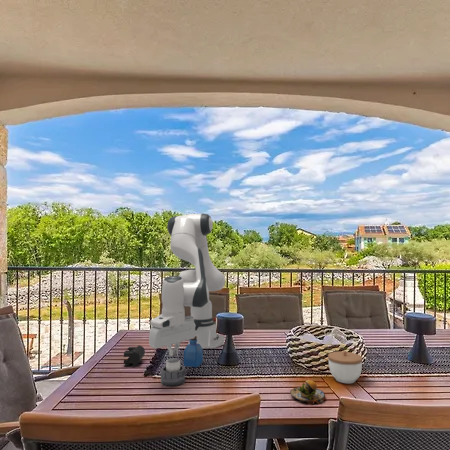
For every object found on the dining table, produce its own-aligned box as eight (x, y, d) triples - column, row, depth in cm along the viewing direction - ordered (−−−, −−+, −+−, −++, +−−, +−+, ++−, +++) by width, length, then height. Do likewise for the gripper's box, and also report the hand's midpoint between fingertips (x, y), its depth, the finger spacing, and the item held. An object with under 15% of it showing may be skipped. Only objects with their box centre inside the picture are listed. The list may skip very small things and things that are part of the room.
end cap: (139, 367, 160) (139, 351, 160) (123, 367, 160) (123, 351, 160) (145, 360, 170) (145, 345, 170) (129, 360, 170) (129, 345, 170)
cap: (174, 370, 146) (174, 356, 147) (183, 373, 143) (183, 359, 143) (163, 374, 142) (163, 360, 143) (171, 377, 139) (171, 363, 139)
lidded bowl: (325, 374, 150) (324, 346, 150) (356, 374, 149) (356, 346, 150) (333, 386, 137) (332, 356, 138) (367, 386, 137) (366, 356, 137)
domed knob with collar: (174, 375, 149) (174, 363, 149) (189, 381, 142) (189, 368, 143) (155, 382, 142) (155, 368, 142) (170, 388, 136) (170, 374, 136)
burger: (292, 389, 135) (291, 368, 135) (325, 393, 132) (325, 371, 132) (288, 403, 123) (287, 380, 124) (324, 407, 120) (324, 384, 120)
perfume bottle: (183, 365, 161) (183, 337, 162) (189, 361, 167) (189, 334, 167) (196, 367, 159) (196, 339, 160) (202, 363, 165) (202, 335, 165)
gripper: (188, 313, 153) (188, 347, 153) (146, 321, 139) (146, 359, 138) (198, 315, 149) (199, 350, 148) (156, 324, 134) (156, 363, 134)
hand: (173, 354), depth 143 cm, fingers closed
